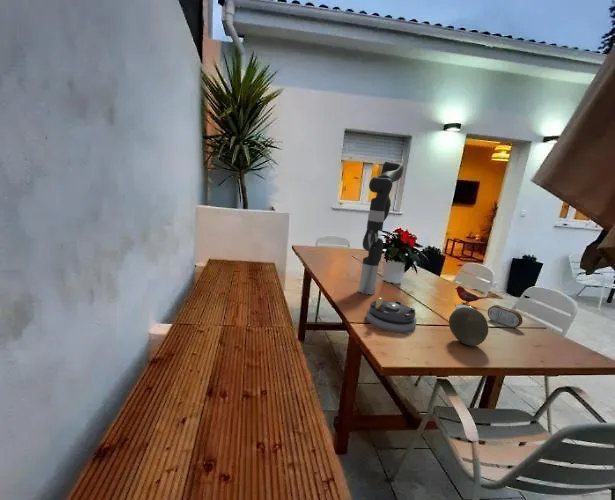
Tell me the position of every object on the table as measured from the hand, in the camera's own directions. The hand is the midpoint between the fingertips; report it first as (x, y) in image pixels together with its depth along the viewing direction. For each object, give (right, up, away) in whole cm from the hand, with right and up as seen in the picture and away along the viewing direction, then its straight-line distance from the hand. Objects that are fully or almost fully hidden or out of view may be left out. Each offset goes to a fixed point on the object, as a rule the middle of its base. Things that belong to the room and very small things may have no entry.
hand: (370, 255), depth 152 cm
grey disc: (+7, -27, -11) cm, 30 cm away
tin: (+66, -35, +1) cm, 74 cm away
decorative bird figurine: (+62, -29, +26) cm, 73 cm away
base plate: (+7, -30, -10) cm, 33 cm away
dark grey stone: (+33, -36, -25) cm, 55 cm away
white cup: (+40, -34, -9) cm, 53 cm away
